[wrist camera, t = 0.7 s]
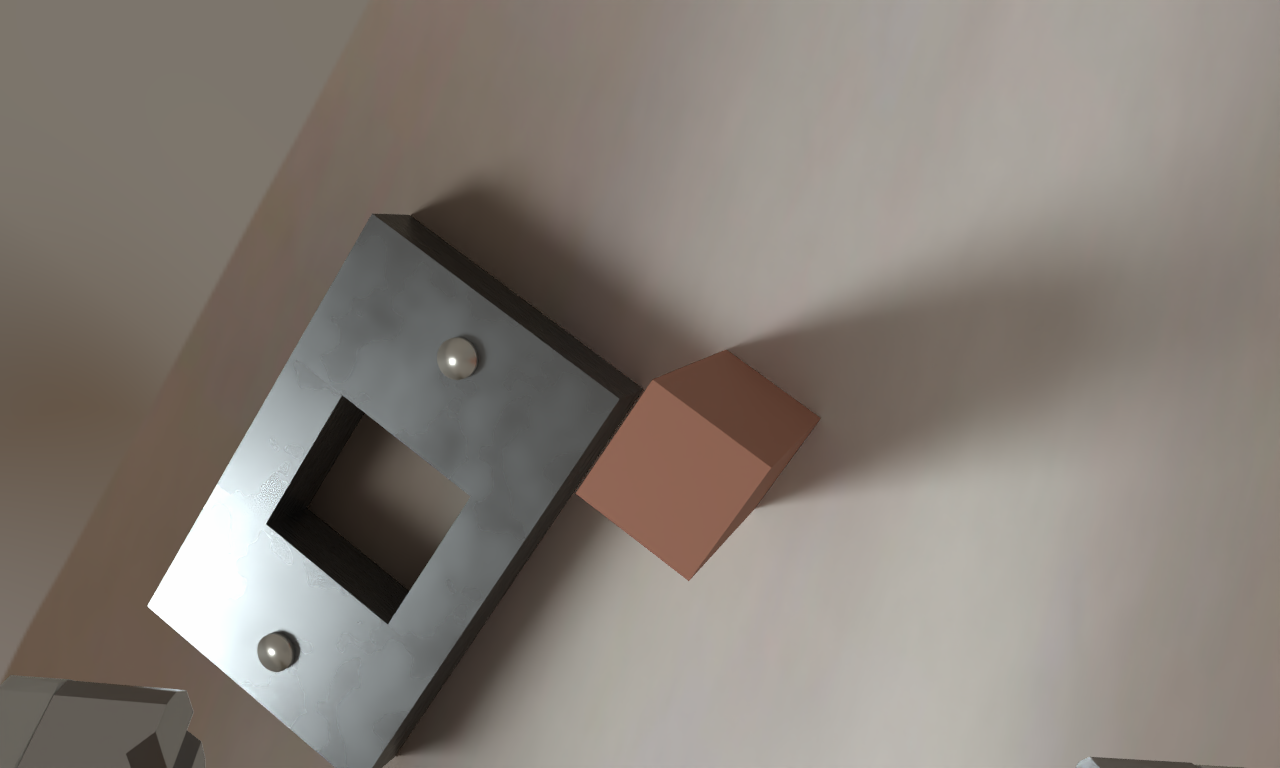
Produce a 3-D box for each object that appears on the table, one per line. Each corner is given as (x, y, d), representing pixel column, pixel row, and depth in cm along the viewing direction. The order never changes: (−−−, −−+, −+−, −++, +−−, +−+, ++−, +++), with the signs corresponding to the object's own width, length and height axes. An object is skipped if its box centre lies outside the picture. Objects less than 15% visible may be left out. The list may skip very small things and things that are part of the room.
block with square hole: (409, 214, 48) (368, 213, 45) (643, 388, 46) (617, 399, 43) (192, 586, 53) (142, 608, 50) (394, 757, 51) (354, 791, 48)
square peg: (726, 349, 45) (652, 379, 35) (820, 418, 44) (771, 467, 35) (663, 440, 46) (575, 493, 37) (754, 509, 45) (688, 581, 36)
